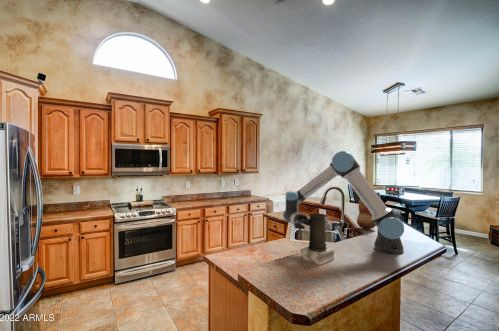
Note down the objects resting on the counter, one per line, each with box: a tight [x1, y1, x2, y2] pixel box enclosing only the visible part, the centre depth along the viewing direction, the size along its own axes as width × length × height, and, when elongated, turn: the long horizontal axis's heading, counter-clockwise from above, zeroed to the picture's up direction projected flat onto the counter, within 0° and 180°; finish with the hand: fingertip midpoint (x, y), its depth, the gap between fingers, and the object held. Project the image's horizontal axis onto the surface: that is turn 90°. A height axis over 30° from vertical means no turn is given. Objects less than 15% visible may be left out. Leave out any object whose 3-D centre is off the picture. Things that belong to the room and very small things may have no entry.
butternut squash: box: [356, 198, 377, 230], centre depth 198 cm, size 14×13×25 cm
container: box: [308, 212, 327, 252], centre depth 133 cm, size 9×9×18 cm
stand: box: [300, 246, 335, 266], centre depth 133 cm, size 12×12×5 cm
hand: (320, 228), depth 130 cm, fingers open, 13 cm apart
